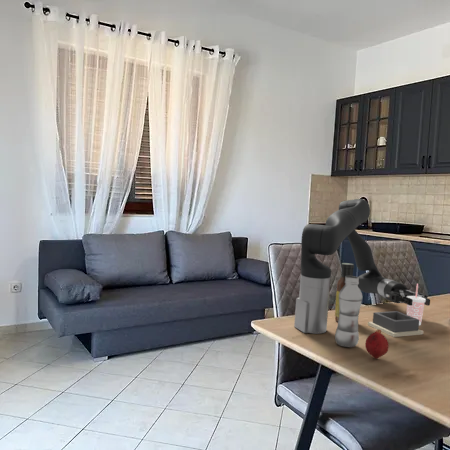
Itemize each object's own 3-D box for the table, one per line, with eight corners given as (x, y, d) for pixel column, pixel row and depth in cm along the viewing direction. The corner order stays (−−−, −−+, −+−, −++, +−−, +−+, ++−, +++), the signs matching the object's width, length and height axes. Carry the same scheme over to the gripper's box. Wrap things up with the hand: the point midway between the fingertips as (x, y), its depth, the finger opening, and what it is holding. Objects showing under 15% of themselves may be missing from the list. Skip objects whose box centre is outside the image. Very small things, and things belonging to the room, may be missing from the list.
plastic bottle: (329, 342, 126) (335, 275, 125) (348, 340, 129) (353, 274, 127) (343, 351, 121) (349, 280, 119) (363, 348, 123) (369, 279, 122)
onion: (375, 364, 112) (378, 334, 112) (359, 356, 118) (362, 327, 117) (391, 361, 115) (394, 331, 114) (375, 353, 120) (377, 325, 120)
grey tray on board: (393, 337, 135) (394, 322, 135) (367, 324, 146) (368, 311, 146) (423, 334, 139) (424, 320, 139) (395, 322, 151) (397, 309, 150)
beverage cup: (403, 324, 149) (407, 284, 148) (404, 319, 155) (408, 280, 154) (423, 327, 147) (427, 286, 146) (423, 322, 152) (427, 283, 151)
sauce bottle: (355, 325, 145) (360, 266, 144) (336, 323, 145) (341, 265, 144) (350, 319, 152) (355, 262, 150) (332, 317, 152) (336, 261, 150)
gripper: (375, 280, 162) (402, 291, 146) (410, 281, 165) (440, 292, 149) (373, 300, 163) (400, 313, 147) (408, 300, 166) (437, 313, 150)
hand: (420, 302), depth 148 cm, fingers closed on beverage cup, 6 cm apart
